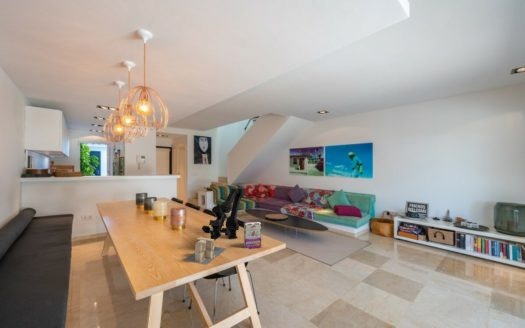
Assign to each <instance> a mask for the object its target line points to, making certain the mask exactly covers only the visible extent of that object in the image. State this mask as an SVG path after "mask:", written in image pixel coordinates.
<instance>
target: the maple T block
mask: <svg viewBox="0 0 525 328" xmlns="http://www.w3.org/2000/svg"><path fill="white" fill-rule="evenodd" d="M195 241H196V242H195V243H194V244H195V248H194V249H195V250H194V253H195V261H199V262H201V261H202V260H204V259H205V258H210V259H211V258H212V257H214V247H215V241H214V239H211V238H207V237H206V238H205V237H198V238H196V240H195Z"/></svg>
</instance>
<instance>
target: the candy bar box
mask: <svg viewBox="0 0 525 328" xmlns="http://www.w3.org/2000/svg"><path fill="white" fill-rule="evenodd" d="M243 247H244V249H260V248H262V223H261V221H250V222H249V221H248V222H243Z"/></svg>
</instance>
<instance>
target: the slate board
mask: <svg viewBox="0 0 525 328" xmlns="http://www.w3.org/2000/svg"><path fill="white" fill-rule="evenodd" d="M226 250H227V248H226V247H219V246H214V257H212V258H211V259H210V258H205V259H204V260H202V261H201V262H199V261H195V252H193V253H192V254H190V255H188V256H186V257H185V258H183V259H182V261H184V262H188V263H194V264H201V265H205V266H207V265H208V264H210V263H211V262H212V261H214V260H215V259H216V258H217V257H219V256H220V255H221V254H222V253H223V252H225V251H226Z"/></svg>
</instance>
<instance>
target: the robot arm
mask: <svg viewBox="0 0 525 328" xmlns="http://www.w3.org/2000/svg"><path fill="white" fill-rule="evenodd" d="M244 195H245V189H244V188H243V187H235V188H234V187H233V188H231V189H230V192H229V194H228V195H227V197H226V199H225V201H223V202H222V203H221V204H220V203H219V204H218V203H217V204H216V205H215V206H214V207H212V208H211V212H212V213H213V215H214V216H215V219H214V220H213V219H210V220H209V224H208V225H203V226H202V227H201V230H202V231H203V232H204V233H205V234H210V239H214V242H216V240H218V239H219V238H220V237H222V234H224V235H225V236H226V237H227V238H228V239H229V240H232V239H238V236H237V231H239V229H240V225H239V223H238V218H237V216H238V211H239V206H240V203H241V202H240V201H241V199H243V197H244ZM229 213H230V215H229V216H227V214H229ZM224 226H225V227H224Z"/></svg>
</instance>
